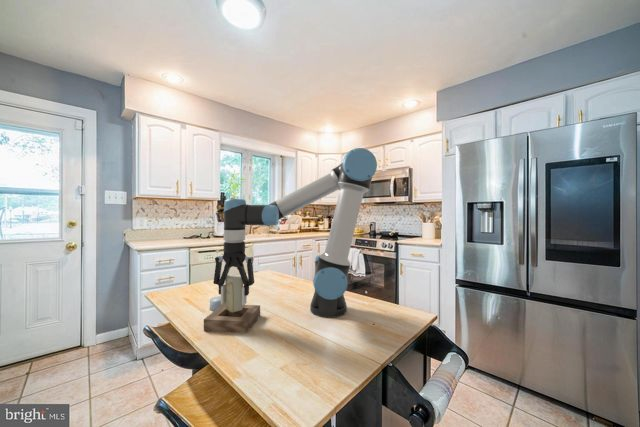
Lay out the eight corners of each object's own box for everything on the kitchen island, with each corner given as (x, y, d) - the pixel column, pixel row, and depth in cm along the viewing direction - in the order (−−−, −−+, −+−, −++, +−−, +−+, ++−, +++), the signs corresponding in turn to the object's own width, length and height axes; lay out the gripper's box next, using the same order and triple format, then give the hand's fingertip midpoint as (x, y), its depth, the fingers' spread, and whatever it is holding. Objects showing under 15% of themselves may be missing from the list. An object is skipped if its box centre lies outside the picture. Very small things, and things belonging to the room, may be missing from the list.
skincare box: (224, 308, 98) (224, 275, 98) (236, 305, 101) (235, 273, 101) (232, 313, 93) (231, 278, 93) (243, 309, 96) (243, 276, 96)
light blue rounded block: (230, 305, 114) (230, 296, 114) (223, 312, 107) (223, 302, 107) (214, 305, 115) (214, 296, 115) (206, 311, 108) (206, 301, 108)
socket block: (260, 315, 104) (260, 305, 104) (246, 333, 89) (246, 321, 89) (223, 313, 105) (223, 303, 105) (203, 331, 90) (203, 319, 90)
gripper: (264, 240, 100) (263, 301, 100) (213, 239, 101) (212, 298, 102) (258, 243, 92) (257, 308, 92) (202, 241, 94) (202, 305, 94)
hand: (233, 303), depth 97 cm, fingers closed on skincare box, 7 cm apart
